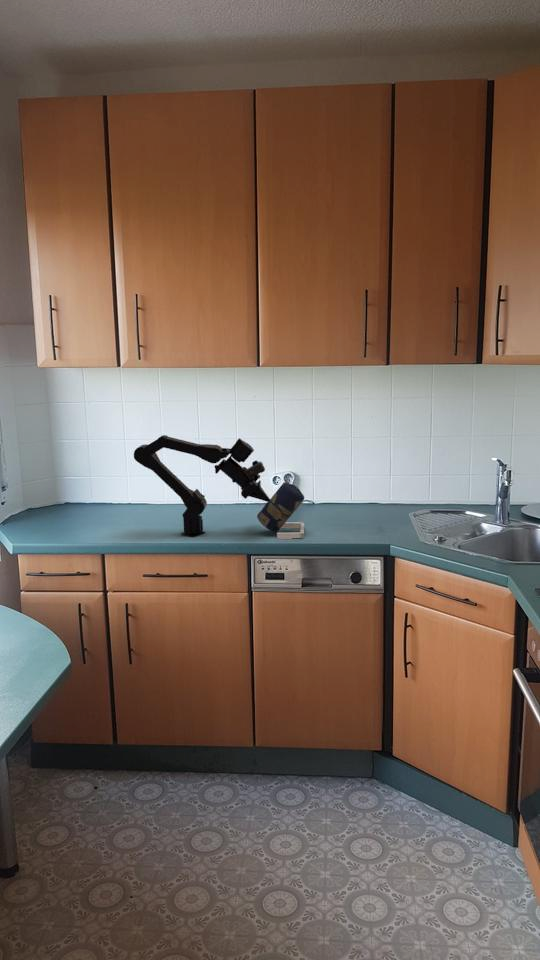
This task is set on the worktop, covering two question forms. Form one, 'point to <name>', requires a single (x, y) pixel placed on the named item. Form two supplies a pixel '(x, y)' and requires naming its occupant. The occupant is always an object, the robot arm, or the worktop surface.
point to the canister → (280, 507)
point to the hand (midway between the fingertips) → (269, 500)
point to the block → (292, 534)
